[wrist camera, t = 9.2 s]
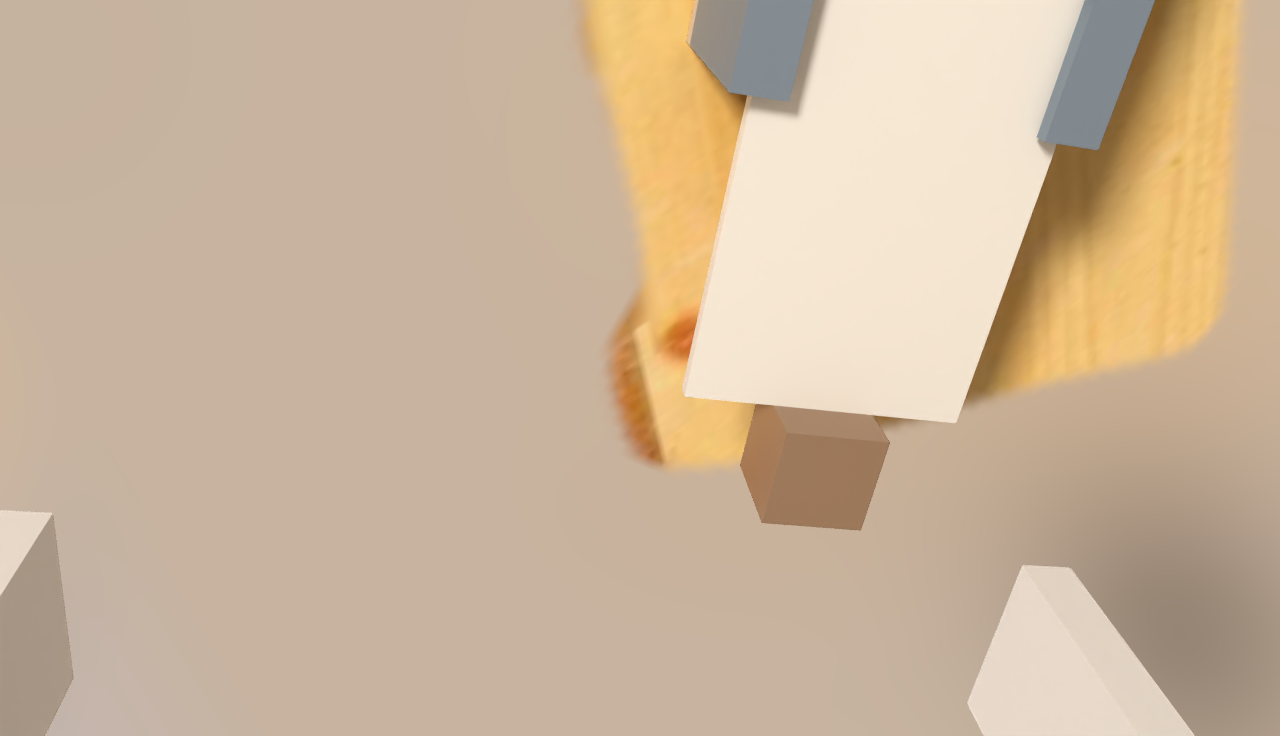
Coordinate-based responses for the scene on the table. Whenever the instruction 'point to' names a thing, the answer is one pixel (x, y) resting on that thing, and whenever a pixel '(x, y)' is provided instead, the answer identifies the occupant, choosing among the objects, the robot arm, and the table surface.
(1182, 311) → the table surface
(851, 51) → the lid
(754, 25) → the grey open box
